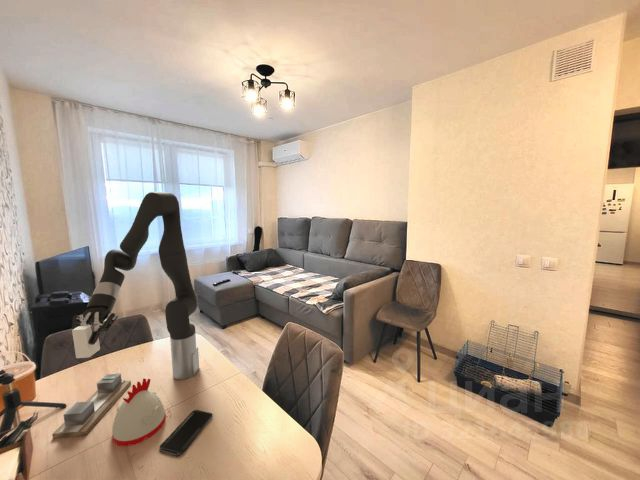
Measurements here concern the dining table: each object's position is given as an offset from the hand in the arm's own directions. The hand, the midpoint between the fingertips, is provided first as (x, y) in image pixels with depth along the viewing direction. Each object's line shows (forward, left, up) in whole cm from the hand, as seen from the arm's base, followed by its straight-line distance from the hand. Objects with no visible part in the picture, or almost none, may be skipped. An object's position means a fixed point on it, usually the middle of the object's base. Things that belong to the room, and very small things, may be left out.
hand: (83, 344), depth 87 cm
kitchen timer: (-21, +10, -24) cm, 33 cm away
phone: (-37, +14, -24) cm, 46 cm away
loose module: (0, -1, -4) cm, 4 cm away
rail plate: (-2, 0, -23) cm, 24 cm away
